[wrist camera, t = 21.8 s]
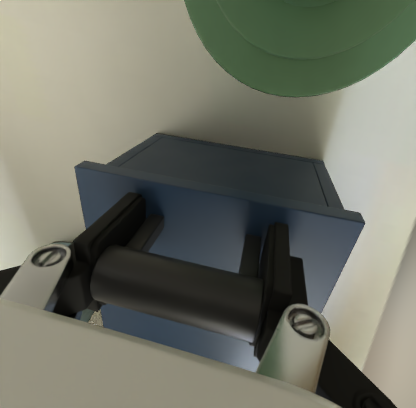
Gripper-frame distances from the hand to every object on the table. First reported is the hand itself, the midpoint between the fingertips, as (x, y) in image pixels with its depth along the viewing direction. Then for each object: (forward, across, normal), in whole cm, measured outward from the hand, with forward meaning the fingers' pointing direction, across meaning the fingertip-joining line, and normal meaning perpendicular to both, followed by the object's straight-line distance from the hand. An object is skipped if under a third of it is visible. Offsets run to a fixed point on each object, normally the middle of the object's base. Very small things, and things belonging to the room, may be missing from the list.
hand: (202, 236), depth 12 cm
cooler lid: (+1, 0, +7) cm, 7 cm away
